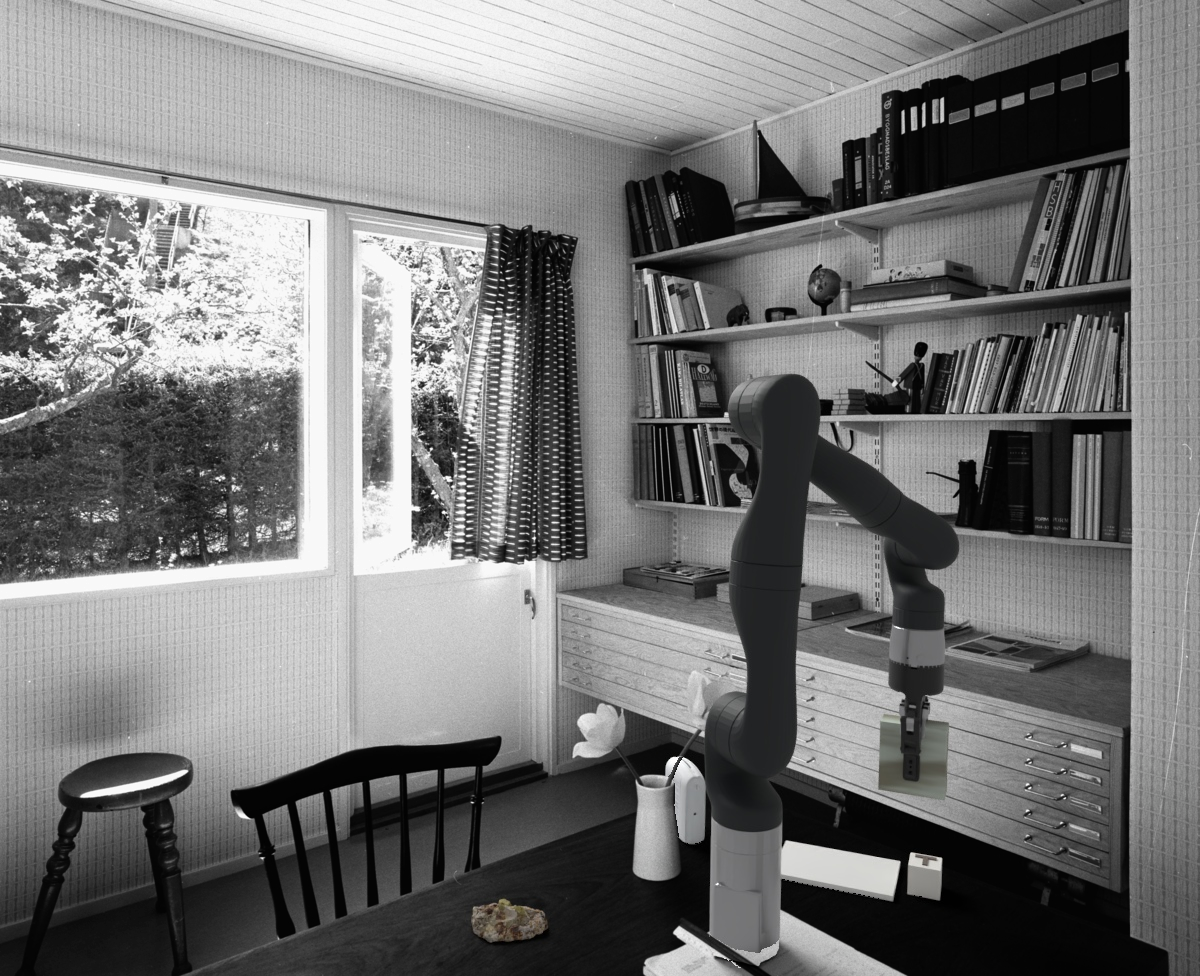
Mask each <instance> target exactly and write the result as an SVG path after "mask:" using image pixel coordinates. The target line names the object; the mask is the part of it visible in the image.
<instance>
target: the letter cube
mask: <svg viewBox="0 0 1200 976" xmlns="http://www.w3.org/2000/svg"><path fill="white" fill-rule="evenodd" d="M942 874H943V858H942V857H938V856H933V855H927V854H921V853H916V852H910V854H909V860H908V864H907V892H906V894H907V895H909V896H914V895H915V896H914V897H919V896H922V897H921V898H926V899H930V900H936V901H941V892H942Z"/></svg>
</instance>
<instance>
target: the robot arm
mask: <svg viewBox="0 0 1200 976" xmlns="http://www.w3.org/2000/svg"><path fill="white" fill-rule="evenodd" d="M820 400H821V399H820V397H819V393H818V390H817V389H816V386H814V384H813V383H812V382H811V380H810V379H808V378H807V377H805V376H804V375H802V374H799V373H781V374H771V375H764V376H757V377H754V378H750V379H747V380H745V381H743V382H741V383H740V384H738V385H737V386H736V388H735V389H734V390H733V392H732V393H731V395H730V397H729V401H728V406H727V414H728V419H729V422H730V425H731V427H732V429H733V431H735V433H736V435H738V436H739V437H740V438H741V439H742V440H743V441H745V442H747V443H748V444H750V445H752V446H753V447H755V448H757V449H758V450H760V452H761V453H760V464H759V465H760V467H759V475H758V481H757V486H756V489H755V493H754V495H753V497H752V499H751V502H750V504H749V506H748V508H747V510H746V512H745V514H744V517H743V518H742V520H741V522H740V524H739V526H738V528H737V531H736V533H735V536H734V539H733V542H732V545H731V552H730V560H729V561H730V563H729V564H730V565H729V575H728V600H729V605H730V610H731V613H732V618H733V620H734V623H735V626H736V629H737V632H738V637H739V639H740V642H741V645H742V649H743V652H744V657H745V658H744V659H745V662H746V692H743V691H739V690H736V691H735V690H733V691H729V692H726V693H723V694H722V695H721V696H719V697H718V698H717V699H716V700H715V701H714V702H713V704H712V706H711V707H710V708H709V710H708V711H709V712H708V714H707V716H706V720H705V726H704V735H703V737H704V738H703V739H704V740H703V741H704V742H703V743H704V744H703V745H704V747H703V748H704V776H705V777H704V781H705V785H706V794H707V797H708V799H709V801H710V806H711V814H710V815H711V822H710V823H711V829H710V830H711V832H710V834H711V835H710V873H709V874H710V876H709V877H710V879H709V880H710V881H709V882H710V884H709V885H710V886H709V935H710V934H711V935H712V936H713V937H714V938H716V939H718V940H720V941H721V942H723V943H724V944H726V945H728V946H730V947H731V948H734V949H735V950H737V949H738V950H744V951H748V952H755V953H760V952H761V950H762V949H764V948H767V947H770V946H772V945H773V944H776V942H777V941H778V940H779V938H780V939H781V898H782V897H781V895H782V894H781V892H782V890H781V889H782V879H781V854H782V848H783V846H782V843H783V802H782V799H781V797H780V795H779V794H778V792H777V791H776V789H775V788H774V787H773V785H772V784H771V782H770V780H769V779H771V778H775V777H777V776H778V775H780V774H782V772H783V771H785V770H786V768H787V767H788V765H789V764H790V762H791V760H792V758H793V756H794V753H795V748H796V745H797V738H798V703H797V701H798V700H797V695H798V694H797V651H798V650H797V648H798V647H797V646H798V631H799V630H798V628H799V611H800V610H799V609H800V600H801V592H802V581H803V580H802V579H803V566H804V546H805V545H804V543H805V534H806V522H807V512H808V511H807V510H808V501H809V488H810V483H811V484H812V485H813V486H815V487H816V488H817V489H819V490H820V491H821V492H823V493H824V494H825V495H826V496H827V497H829V498H830V499H831V500H833V501H834V503H836V504H837V505H838V506H839V507H840V508H842V509H843V510H844V511H845V512H846V513H848V515H849V516H851V517H852V518H853V519H854V520H855V521H857V522H858V523H859V524H861V526H863V527H864V528H865V529H866V530H867V531H869V532H870V533H872V534H874V535H877V536H880V537H883V538H884V540H883V556H884V561H885V565H886V570H887V576H888V580H889V585H890V587H891V592H892V596H893V597H892V598H893V599H892V600H893V601H892V615H891V616H892V617H891V618H892V619H891V631H890V638H889V651H888V653H889V655H888V676H887V677H888V680H887V681H888V682H887V683H888V687H889V688H890V689H892V691H895V692H897V693H902V694H903V695H904V698H902V699H901V703H899V707H898V709H899V710H898V716H900V717H901V718H900V735H901V747H900V751H901V753H902V754H903V779H904V780H907V781H913V782H917V781H918V780H919V773H920V756H921V754H922V750H921V741H922V739H924V738H925V731H926V721H928V720H929V715H930V714H931V713H930V712H931V702H929V698H928V696H929V697H931V696H939V695H940V694H941V693H942V692H944V687H945V685H944V684H945V665H946V664H945V658H946V640H945V639H946V638H945V611H946V610H945V607H946V606H945V605H946V600H945V599H946V598H945V593H944V591H943V590H942V589H941V588H940V587H938V586H936V585H934V584H933V583H932V582H931V581H930V580H929V578H928V576H927V572H926V570H928V571H929V570H930V571H939V570H944V569H947V568H948V567H950V566H951V565H953V563H955V561H956V560H957V558H958V556H959V552H960V541H959V537H958V534H957V532H956V531H955V529H954V527H953V526H952V525H951V524H950V523H949V522H948V521H947V520H946V519H944V518H943V517H942V516H940V515H938V513H936V512H934V511H932V510H931V509H929V508H927V507H926V506H924V505H923V504H921V503H919V502H917V501H915V500H913V499H912V498H910V497H908V495H907V496H906V495H905V494H904V493H903V492H902V491H901V489H900V488H898V487H897V486H896V485H895V484H894V483H893V482H892V481H890V480H889V479H888V478H887V477H886V476H885V475H884V474H883V473H882V472H881V471H879V470H878V469H876V468H875V467H874V466H873V465H871V464H869V463H868V462H867V461H865V460H863V459H861V458H859V457H858V456H856V455H854V454H852V453H851V452H849V451H847V450H846V449H843V448H841V447H840V446H837V445H836V444H834V443H832V442H831V441H829V440H828V439H826V438H825V437H823V436H821V435H820V434H819V431H820V425H821V415H822V413H821V411H822V410H821V409H822V408H821V402H820ZM921 726H922V730H921V732H920V728H921ZM907 741H912V742H915V743H916V746H911V745H907Z"/></svg>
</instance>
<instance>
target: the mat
mask: <svg viewBox="0 0 1200 976" xmlns="http://www.w3.org/2000/svg"><path fill="white" fill-rule="evenodd" d="M900 869H901V861H900V860H895V859H890V858H884V857H877V856H873V855H868V854H864V853H863V854H862V853H857V852H852V851H846V850H841V849H834V848H831V847H830V848H829V847H824V846H820V845H813V844H807V843H802V842H797V841H791V840H785V841H784V844H783V846H782V854H781V880H782V879H785V880H784V881H787V880H789V881H788V882H792V881H795V882H794V883H797V882H798V884H802V883H803V885H807V884H808V886H812V885H813V887H817V886H818V887H819V888H822V887H824V888H825V889H827V888H829V890H832V889H834V890H835V891H837V890H839V891H838V892H843V891H844V893H848V892H849V893H848V894H853V893H856V894H855V895H858V894H861V895H860V896H863V895H865V896H864V897H868V896H870V897H869V898H873V897H874V898H873V899H878V898H879V899H878V900H883V901H884V900H885V901H889V902H894V898H895V893H896V889H897V884H898V879H899V873H900ZM824 888H823V889H824Z"/></svg>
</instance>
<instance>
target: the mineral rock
mask: <svg viewBox="0 0 1200 976" xmlns="http://www.w3.org/2000/svg"><path fill="white" fill-rule="evenodd" d="M471 926H472V932H473V933H474V934H475V935H477V936H478V937H480V938H483V939H484V940H486V941H487V942H489V943H494V942H507V943H508V942H509V943H510V942H512V941H518V940H519V941H523V940H530V939H532V938H535V936H536V935H542V934H543V932H544V931H546V930H547V929H548V927H549V925H548V919H547V918H546V913H545V912H544V911H543V910H540V909H534V908H531V907H529V906H526V905H525V906H522V905H516V904H514V905H512V904H511V901H510V900H507V899H506V898H502V899H499V900H498V903H496V902H492V903H490V904H486V905H485V904H483V905H480V906H473V908H472V915H471Z"/></svg>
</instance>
